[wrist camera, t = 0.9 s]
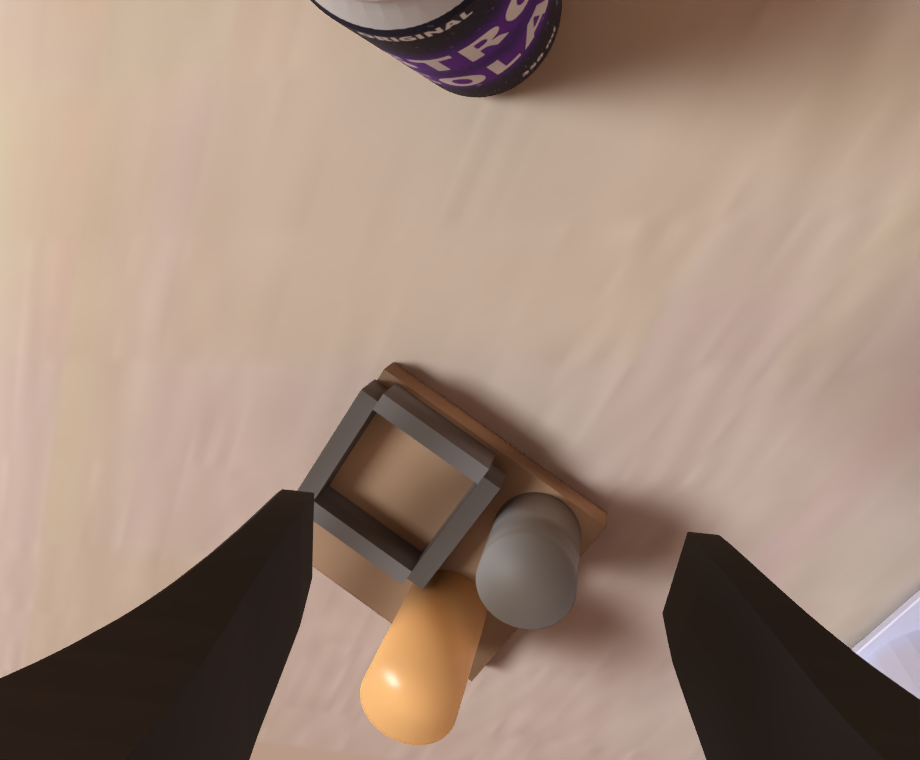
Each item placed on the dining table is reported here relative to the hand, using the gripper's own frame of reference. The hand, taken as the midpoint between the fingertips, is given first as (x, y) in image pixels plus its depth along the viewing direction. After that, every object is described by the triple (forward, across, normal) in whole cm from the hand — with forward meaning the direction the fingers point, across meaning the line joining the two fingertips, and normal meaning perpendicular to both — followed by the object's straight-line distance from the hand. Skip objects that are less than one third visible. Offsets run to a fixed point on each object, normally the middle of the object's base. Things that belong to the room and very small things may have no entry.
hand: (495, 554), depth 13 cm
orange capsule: (+12, 0, +13) cm, 18 cm away
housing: (+14, +1, +10) cm, 17 cm away
